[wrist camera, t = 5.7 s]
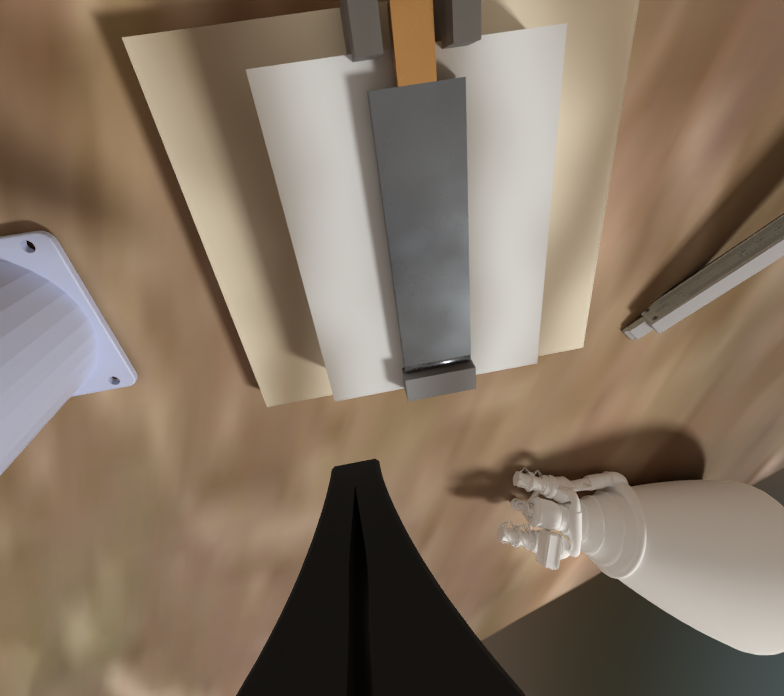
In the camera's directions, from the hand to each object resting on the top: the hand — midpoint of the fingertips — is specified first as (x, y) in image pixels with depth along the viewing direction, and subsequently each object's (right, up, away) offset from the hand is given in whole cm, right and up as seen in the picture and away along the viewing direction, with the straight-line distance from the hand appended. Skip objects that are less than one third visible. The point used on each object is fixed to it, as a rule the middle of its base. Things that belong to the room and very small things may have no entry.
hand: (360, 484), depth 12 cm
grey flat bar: (+2, +9, +3) cm, 10 cm away
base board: (+2, +10, +7) cm, 12 cm away
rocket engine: (+19, -6, +20) cm, 28 cm away
